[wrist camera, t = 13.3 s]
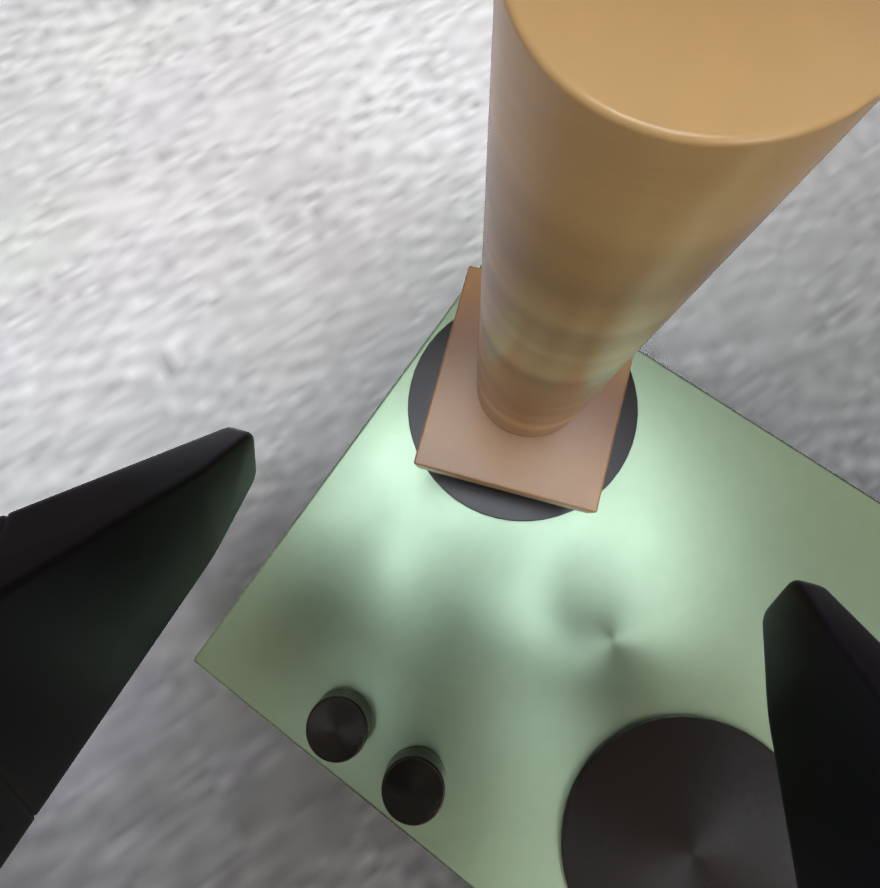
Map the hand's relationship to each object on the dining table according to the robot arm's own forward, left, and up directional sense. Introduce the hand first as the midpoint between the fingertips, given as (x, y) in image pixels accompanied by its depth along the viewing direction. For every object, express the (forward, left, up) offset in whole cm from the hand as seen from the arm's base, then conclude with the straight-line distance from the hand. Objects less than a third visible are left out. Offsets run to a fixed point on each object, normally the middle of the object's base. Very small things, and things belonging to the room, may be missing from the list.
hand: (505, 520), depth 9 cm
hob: (-1, -5, -10) cm, 11 cm away
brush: (+3, +1, -8) cm, 9 cm away
